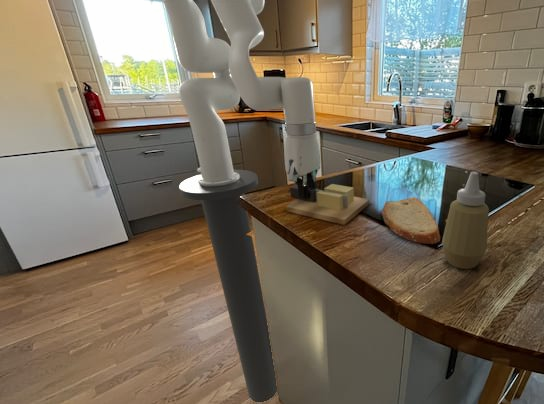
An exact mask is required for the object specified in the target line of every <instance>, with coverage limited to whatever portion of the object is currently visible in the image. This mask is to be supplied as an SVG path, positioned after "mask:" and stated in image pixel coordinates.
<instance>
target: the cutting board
mask: <svg viewBox="0 0 544 404" xmlns="http://www.w3.org/2000/svg"><path fill="white" fill-rule="evenodd" d="M369 205H370V199H369V198H364V197H359V196H354V201H352V202H351V203H350V204H348V208H347V207H343V209H342V210H336V209H331V208H326V207H322V206H318V202H317V201H316V202H309V201H304V200H299V199H296V200H295V201H293V202H291V203H290V204H288V205H286V206H285V209H286V212H287V213H291V214H296V215H300V216H304V217H309V218H314V219H318V220H322V221H326V222H330V223H334V224H335V223H336V224H338V225H341V226H346V225H347V224H348V223H349V222H350V221H351V220H353V219H354V218H355V217H356V216H357V215H359V214H360V213H361V212H362V211H363V210H364V209H365V208H367V207H368V206H369Z"/></svg>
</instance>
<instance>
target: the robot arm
mask: <svg viewBox="0 0 544 404" xmlns="http://www.w3.org/2000/svg"><path fill="white" fill-rule="evenodd" d="M162 1H163V5H164V7H165V9H166V12H167V15H168V19H169V22H170V23H169V24H170V28H171V33H172V39H173V42H174V47H175V52H176V55H177V60H178V62H179V64H180V66H181V68H182V69H183V70H184V71H186V72H190V73H194V74H195V73H196V74H213V77H193V78H188V79H185V80H184V81H182V83H181V84H180V85H179V88H178V94H179V98H180V101H181V103H182V105H183V106H182V107H183V108H184V110H185V112H186V115H187V119H188V121H189V125H190V129H191V133H192V137H193V142H194V145H195V149H196V154H197V158H198V162H199V167H197V168H196V172H197V173H198V174H199V173H200V174H201V175H202V177H201V178H199V180H198V182H199V184H200V185H202V186H208V187H213V186H223V185H227V184H231V183H234V182H236V181H237V180H239V178H240V176H239V174H238V173H236V172H234V170H235V169H234V166H233V160H232V155H231V149H230V144H229V139H228V134H227V133H228V132H227V128H226V125H225V123H224V121H223V120H222V118H221V117H220V116H219V114H218V113H217V112H219V111H225V110H232V109H234V108H236V107H237V106H238V105H239V103H240V101H241V100H242V101H243V102H244V104H245V105H246V106H247V107H249V108H250V109H251V110H254V111H267V110H272V109H282V108H283V117H284V124H285V131H286V132H285V133H286V136H285V137H284V144H283V145H284V147H283V148H284V150H283V153H284V155H283V156H284V169H285V173H286V175H288V177H287V178H288V181H289V182H290V181H291V182H294V183H295V185H298V194H299V198H303V199H309V188H308V187H310V188H315V189H317V187H316V181H317V175H318V172H319V170H320V169H321V152H320V151H321V150H320V145H319V140H318V134H317V127H316V126H317V125H316V113H315V101H314V99H315V98H314V88H313V87H314V86H313V82H312V80H311V79H310V78H309V77H304V76H303V77H301V76H300V77H299V76H298V77H297V76H296V77H295V76H294V77H285V76H284V77H283V76H258V75H257V73H256V71H255V69H254V66H253V64H252V61H251V58H250V50H251V49H253V48H255V47H256V46H257V45H259V44H260V43H261V42H262V40H263V39H264V37H265V31H264V28H263V26H262V25H261V21H260V20H259V18H258V15H259V14H261V13H262V11H263V10H264V8H265V0H210V2H211V4H212V6H213V8H214V10H215V13H216V15H217V16H218V17H217V18H218V19H219V20H220V23H221V25H222V28H223V29H224V31H225V33H226V35H227V37H228V39H229V41H230V44H229V43H228V42H227V41H225V40H223V39H221V38H217V37H209V35H208V32H207V26H206V20H205V17H204V15H203V13H202V11H201V9H200V7H199V6H198V5H197V3H196V2H195V1H194V0H162Z"/></svg>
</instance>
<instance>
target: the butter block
mask: <svg viewBox="0 0 544 404" xmlns="http://www.w3.org/2000/svg"><path fill="white" fill-rule="evenodd" d="M323 191H328V192H334V193H339V194H345V195H348V204H350V203H351V202H352V201H354V197H355V188H354V187H353V186H347V185H340V184H335V183H331V184H329V185H327V186H326V187H324V189H323Z"/></svg>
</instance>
